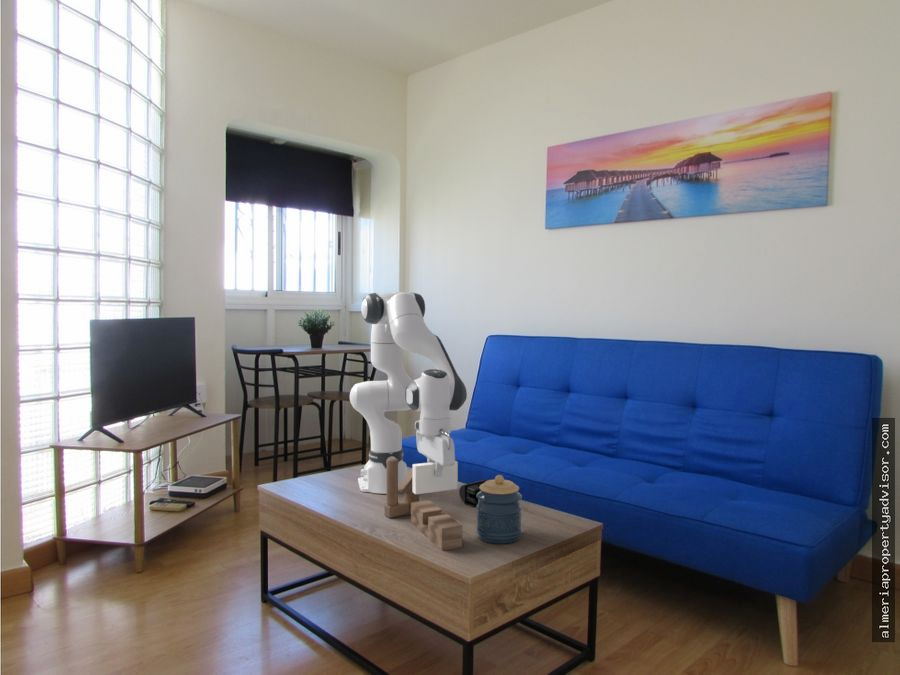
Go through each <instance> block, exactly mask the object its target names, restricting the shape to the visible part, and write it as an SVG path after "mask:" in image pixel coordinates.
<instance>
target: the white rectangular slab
mask: <svg viewBox="0 0 900 675" xmlns="http://www.w3.org/2000/svg"><path fill="white" fill-rule="evenodd" d="M458 464H459V463H458V461H457V460H455V463H454V465H453V466H443V469H442V476H441V477H436V476H435V475H434V470H435V468H436V465H435V462H429V463H428V462H422V463H413V464H412V468H411V469H412V492H413V493H414V494H419V495H422V494H430V493H437V492H445V491H446V492H447V491H454V490H458V489H459V488H458V487H459V486H458V485H459V484H458V481H459V480H458V479H459V476H458V473H459V471H458V470H459V469H458V468H459V467H458Z"/></svg>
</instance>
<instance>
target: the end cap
mask: <svg viewBox="0 0 900 675" xmlns="http://www.w3.org/2000/svg"><path fill="white" fill-rule="evenodd" d="M486 481H488V479H482V480H479V481H474V482H470V483H464V484H462V485H461V486H460V487H459V494H458V495H459V498H460V499H461V500H460V501H462V502H463V503H464V505H466V506H468V507H470V508H471V507H472V508H474V509H475V508H477V507H476V506H477V504H478V498H477V496H476V495H477V493H478V492H479V491H481V490H480V488H479V487H480V485H481V484H483V483H485V482H486Z"/></svg>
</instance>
